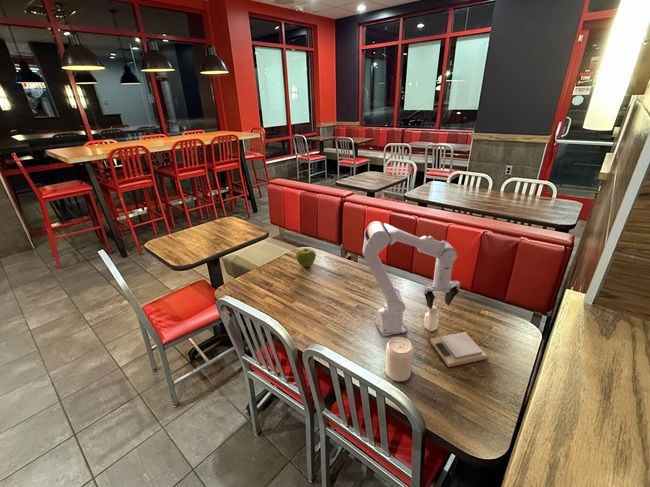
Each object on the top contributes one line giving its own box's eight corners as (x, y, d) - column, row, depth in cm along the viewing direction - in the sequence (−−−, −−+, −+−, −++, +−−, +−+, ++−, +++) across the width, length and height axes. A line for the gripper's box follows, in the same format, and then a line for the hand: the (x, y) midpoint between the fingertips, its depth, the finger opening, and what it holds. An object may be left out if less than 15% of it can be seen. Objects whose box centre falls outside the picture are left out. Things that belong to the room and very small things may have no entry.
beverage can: (382, 364, 105) (383, 336, 100) (406, 361, 106) (408, 334, 101) (389, 384, 98) (390, 355, 93) (414, 381, 98) (417, 352, 93)
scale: (448, 367, 103) (449, 361, 102) (430, 342, 114) (430, 336, 112) (485, 359, 105) (487, 353, 104) (464, 335, 116) (465, 329, 115)
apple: (294, 270, 166) (293, 253, 162) (299, 260, 176) (297, 244, 171) (314, 270, 164) (313, 254, 160) (318, 261, 174) (317, 245, 170)
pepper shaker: (430, 332, 118) (432, 312, 114) (422, 326, 121) (425, 306, 117) (438, 329, 120) (440, 309, 116) (430, 323, 123) (432, 303, 119)
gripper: (430, 283, 107) (426, 315, 113) (467, 276, 110) (461, 308, 116) (420, 273, 113) (417, 304, 119) (455, 267, 116) (450, 297, 122)
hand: (438, 305), depth 118 cm, fingers open, 7 cm apart
